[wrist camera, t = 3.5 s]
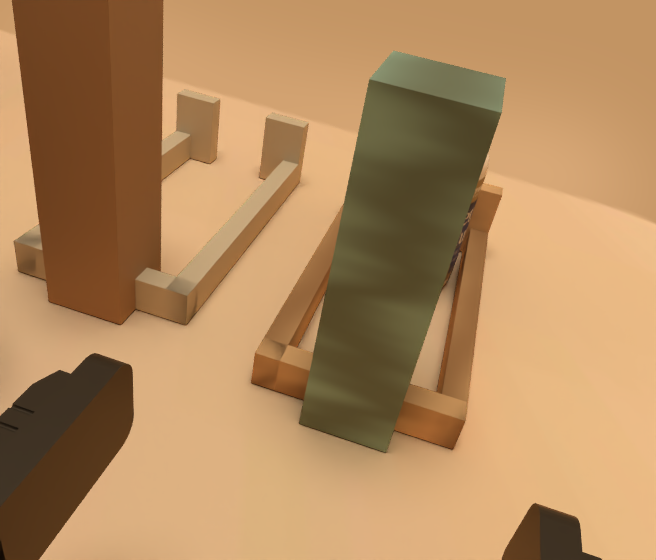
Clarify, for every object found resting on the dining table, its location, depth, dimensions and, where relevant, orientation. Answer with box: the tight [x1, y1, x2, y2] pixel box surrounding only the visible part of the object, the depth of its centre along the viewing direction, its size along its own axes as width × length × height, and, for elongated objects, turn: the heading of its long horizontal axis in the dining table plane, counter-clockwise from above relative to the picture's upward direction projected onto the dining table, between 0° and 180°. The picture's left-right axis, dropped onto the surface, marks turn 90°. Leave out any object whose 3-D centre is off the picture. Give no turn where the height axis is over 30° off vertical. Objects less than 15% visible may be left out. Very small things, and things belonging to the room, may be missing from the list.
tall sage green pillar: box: [251, 51, 506, 453], centre depth 26 cm, size 8×17×13 cm, turn 164°
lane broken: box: [12, 0, 309, 325], centre depth 29 cm, size 8×17×13 cm, turn 164°
